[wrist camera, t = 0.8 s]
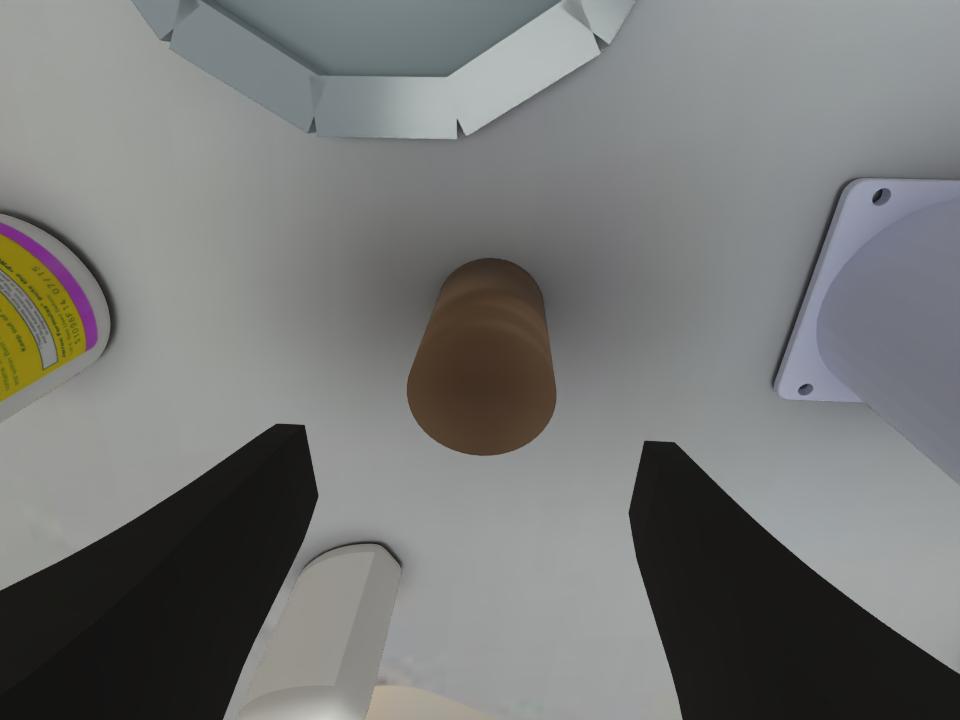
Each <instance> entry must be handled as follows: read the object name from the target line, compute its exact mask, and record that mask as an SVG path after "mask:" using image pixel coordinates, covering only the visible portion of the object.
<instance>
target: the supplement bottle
mask: <svg viewBox="0 0 960 720" xmlns="http://www.w3.org/2000/svg"><path fill="white" fill-rule="evenodd" d="M109 334H110V315H109V309H108V306H107V303H106V300H105V297H104V295H103V292H102V290H101V288H100V287H99V285H98V283H97V281H96V280H95V278H94V277H93V275H92V274H91V273H90V271H89V270H88V269H87V267H86V266H85V265H84V264H83V263H82V261H81V260H80V259H79V258H78V257H77V256H76V255H75V254H74V253H73V252H72V251H71V250H70V249H69V248H67V247H66V246H65V245H64V244H62V243H61V242H60V241H58V240H57V239H56V238H54V237H53V236H51V235H50V234H48V233H46V232H45V231H43V230H41V229H39V228H37V227H35V226H34V225H32V224H29V223H27V222H25V221H22V220H20V219H17V218H14V217H11V216H8V215H4V214H0V423H1V422H3V421H4V420H6V419H7V418H9V417H11V416H12V415H14V414H15V413H17V412H18V411H20V410H22V409H23V408H25V407H26V406H28V405H29V404H31V403H33V402H34V401H36V400H37V399H39V398H41V397H42V396H44V395H45V394H47V393H49V392H50V391H52V390H53V389H55V388H57V387H58V386H60V385H61V384H63V383H64V382H66V381H68V380H69V379H71V378H72V377H74V376H75V375H77V374H78V373H80V372H81V371H83V370H84V369H86V368H87V367H89V366H90V365H91V364H92V363H94V362H95V361H96V360H97V359H98V358H99V356H100V355H101V354H102V352H103V351H104V349H105V347H106V345H107V342H108V339H109Z"/></svg>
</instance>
